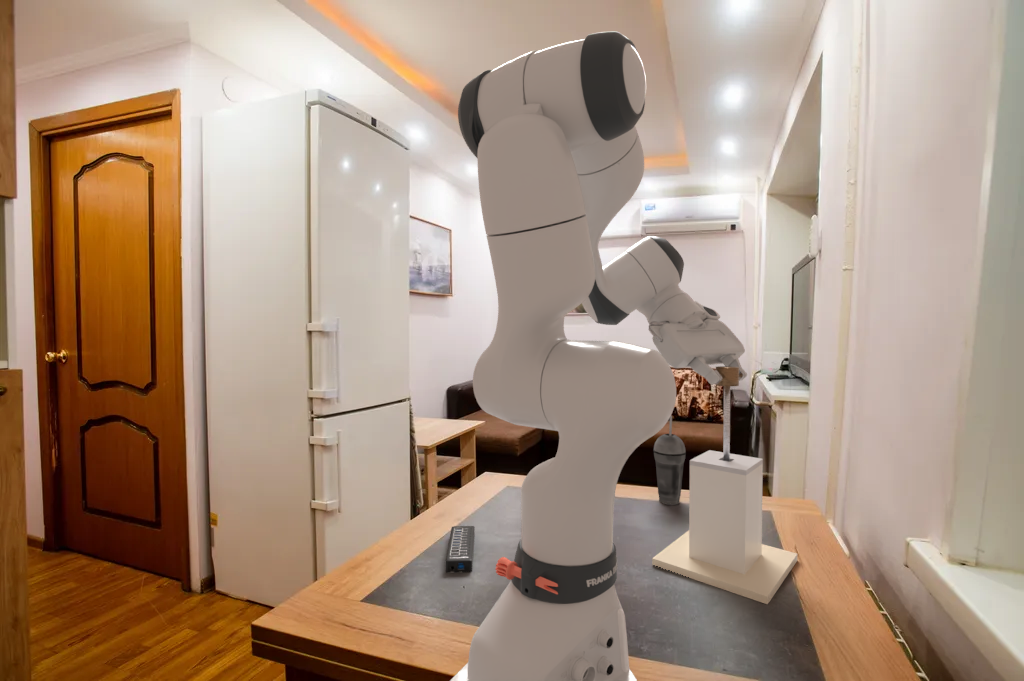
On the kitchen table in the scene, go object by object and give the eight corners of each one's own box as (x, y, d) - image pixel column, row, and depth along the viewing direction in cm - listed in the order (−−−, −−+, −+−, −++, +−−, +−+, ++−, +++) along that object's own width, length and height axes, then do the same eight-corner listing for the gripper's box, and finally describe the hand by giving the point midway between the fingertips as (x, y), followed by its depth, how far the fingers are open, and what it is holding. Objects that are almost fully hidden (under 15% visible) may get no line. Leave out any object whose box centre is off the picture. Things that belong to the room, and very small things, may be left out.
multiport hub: (474, 537, 97) (474, 525, 97) (472, 574, 83) (472, 560, 83) (451, 537, 97) (451, 525, 97) (445, 574, 83) (445, 561, 83)
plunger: (741, 484, 80) (742, 369, 79) (697, 475, 85) (698, 367, 84) (754, 474, 85) (755, 366, 85) (712, 466, 90) (713, 364, 89)
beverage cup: (681, 496, 118) (682, 412, 118) (689, 507, 111) (690, 418, 111) (650, 495, 119) (650, 411, 118) (656, 506, 112) (656, 417, 111)
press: (767, 604, 73) (769, 483, 72) (652, 565, 85) (652, 461, 84) (797, 560, 86) (798, 458, 86) (694, 531, 98) (694, 441, 98)
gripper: (655, 308, 83) (709, 371, 76) (720, 310, 96) (772, 364, 88) (633, 335, 87) (683, 397, 79) (698, 333, 99) (746, 387, 92)
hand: (730, 380), depth 84 cm, fingers open, 7 cm apart
